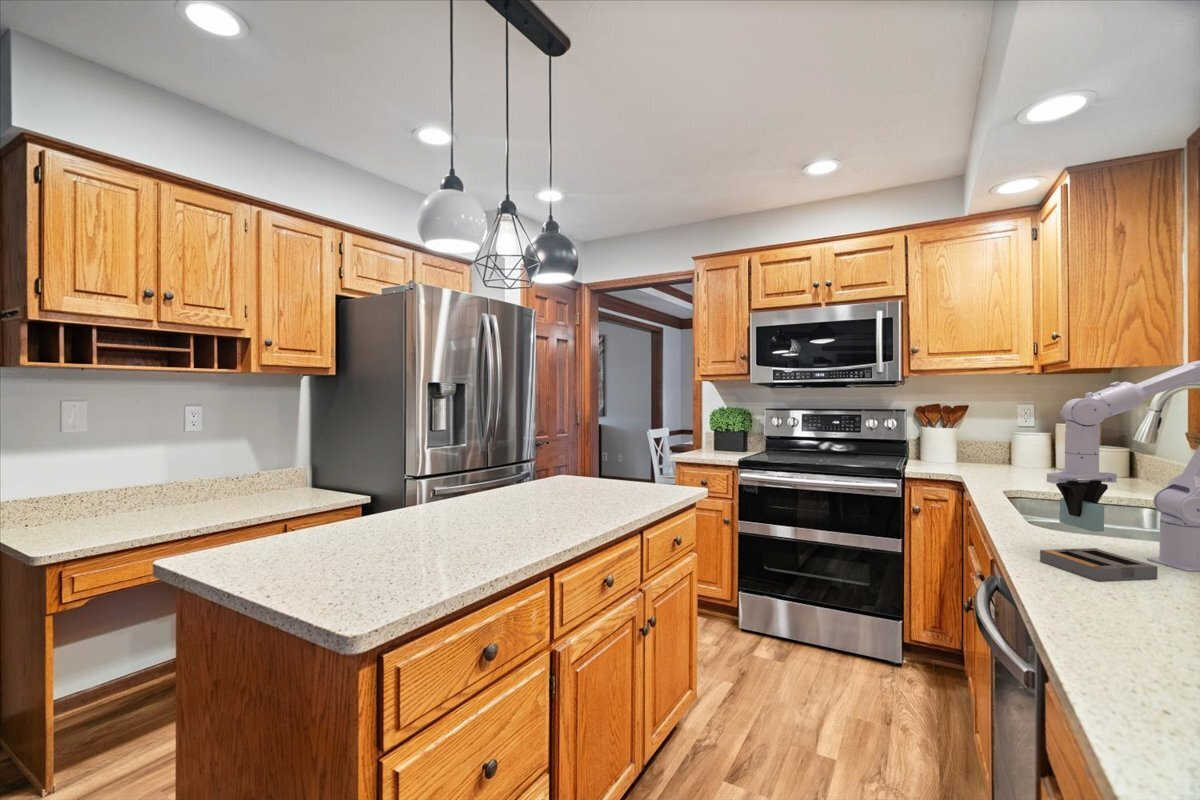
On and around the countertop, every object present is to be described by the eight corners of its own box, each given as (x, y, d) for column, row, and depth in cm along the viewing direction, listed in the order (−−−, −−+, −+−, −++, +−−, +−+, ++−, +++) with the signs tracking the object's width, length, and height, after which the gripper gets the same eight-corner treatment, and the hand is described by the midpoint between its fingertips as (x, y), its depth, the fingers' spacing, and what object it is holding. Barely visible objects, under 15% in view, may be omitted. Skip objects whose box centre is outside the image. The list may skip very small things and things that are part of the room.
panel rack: (1094, 559, 121) (1094, 546, 121) (1157, 578, 109) (1157, 565, 108) (1039, 561, 120) (1040, 548, 120) (1097, 581, 107) (1097, 567, 107)
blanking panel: (1069, 522, 127) (1070, 497, 127) (1103, 531, 119) (1104, 505, 119) (1059, 522, 127) (1060, 498, 127) (1093, 531, 119) (1093, 505, 119)
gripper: (1095, 450, 127) (1094, 510, 128) (1035, 451, 126) (1034, 512, 127) (1126, 454, 120) (1125, 517, 121) (1063, 455, 119) (1062, 519, 120)
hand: (1081, 515), depth 123 cm, fingers closed on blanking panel, 2 cm apart
